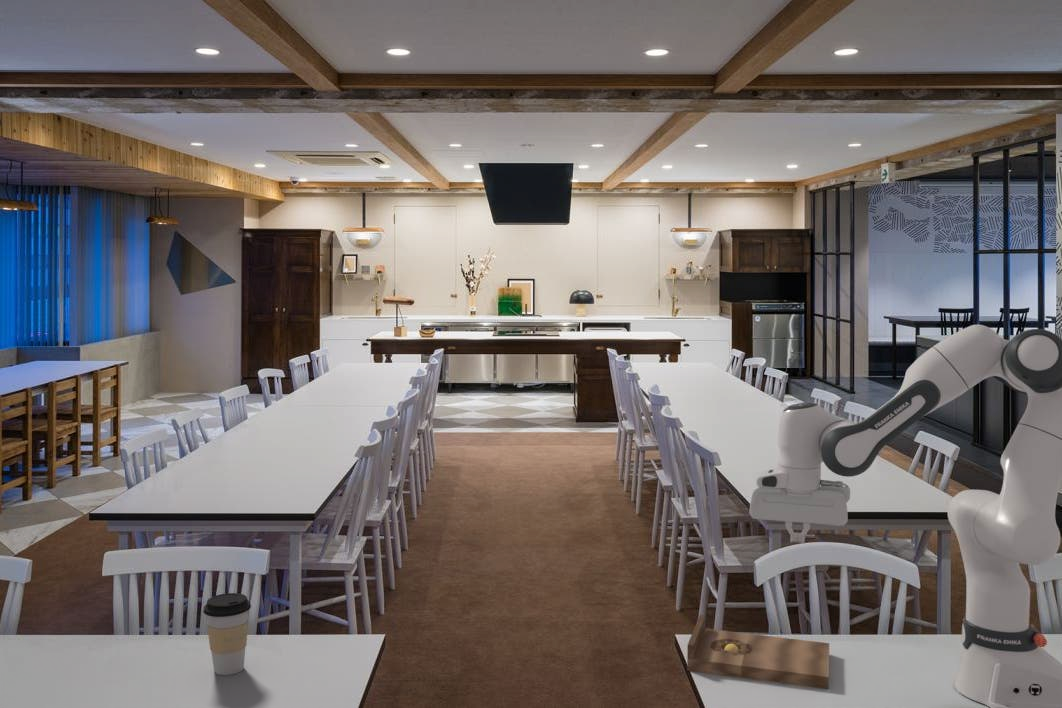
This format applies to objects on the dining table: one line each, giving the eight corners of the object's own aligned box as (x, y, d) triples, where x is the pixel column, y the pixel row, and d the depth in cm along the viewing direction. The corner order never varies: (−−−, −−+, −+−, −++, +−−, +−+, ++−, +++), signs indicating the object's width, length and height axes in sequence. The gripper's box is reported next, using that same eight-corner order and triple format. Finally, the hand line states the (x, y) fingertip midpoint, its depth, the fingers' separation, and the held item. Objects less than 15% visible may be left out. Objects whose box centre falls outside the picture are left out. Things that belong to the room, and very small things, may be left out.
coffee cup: (233, 681, 183) (231, 609, 182) (194, 675, 186) (192, 604, 185) (261, 663, 192) (260, 594, 191) (224, 657, 195) (222, 589, 194)
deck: (829, 654, 197) (829, 629, 196) (828, 689, 180) (829, 662, 179) (699, 638, 206) (699, 615, 205) (687, 670, 189) (687, 644, 188)
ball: (731, 638, 196) (721, 648, 197) (730, 643, 193) (720, 653, 194) (743, 649, 195) (733, 658, 196) (741, 654, 192) (731, 664, 193)
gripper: (850, 478, 193) (848, 542, 194) (751, 472, 200) (750, 534, 201) (850, 484, 187) (848, 550, 188) (749, 478, 194) (748, 541, 195)
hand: (797, 542), depth 194 cm, fingers closed
